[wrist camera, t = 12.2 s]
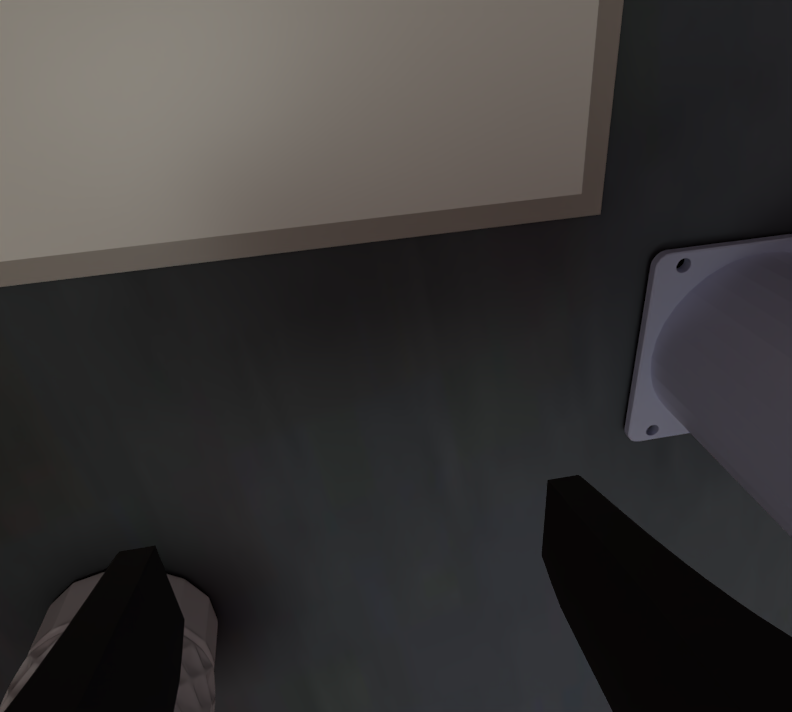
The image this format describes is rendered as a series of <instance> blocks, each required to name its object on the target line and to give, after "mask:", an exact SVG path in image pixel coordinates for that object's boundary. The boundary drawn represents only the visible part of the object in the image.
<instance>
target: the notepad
mask: <svg viewBox="0 0 792 712" xmlns="http://www.w3.org/2000/svg"><path fill="white" fill-rule="evenodd" d="M623 2H624V0H0V287H4V286H12V285H20V284H29V283H37V282H45V281H53V280H62V279H70V278H78V277H86V276H95V275H103V274H111V273H120V272H128V271H136V270H144V269H153V268H161V267H169V266H177V265H186V264H194V263H202V262H211V261H219V260H227V259H235V258H244V257H252V256H260V255H268V254H277V253H285V252H293V251H302V250H310V249H318V248H326V247H335V246H343V245H351V244H359V243H368V242H376V241H384V240H393V239H401V238H409V237H417V236H426V235H434V234H442V233H450V232H459V231H467V230H475V229H484V228H492V227H500V226H508V225H517V224H525V223H533V222H541V221H550V220H558V219H566V218H575V217H583V216H591V215H599V214H601V204H602V195H603V186H604V177H605V167H606V158H607V149H608V140H609V131H610V121H611V112H612V103H613V94H614V85H615V75H616V66H617V57H618V48H619V38H620V29H621V20H622V11H623Z"/></svg>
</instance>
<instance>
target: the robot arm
mask: <svg viewBox="0 0 792 712" xmlns="http://www.w3.org/2000/svg"><path fill="white" fill-rule="evenodd" d="M682 259H684V263H683V265H681V266H680V267H679V268H676V266H677V264H678V262H679V261H680V260H682ZM650 426H652V427H651V428H649V427H650ZM647 428H649V429H647ZM624 430H625V434H626V435H627V436H628V437H629V439H630V440H632V441H643V440H649V439H655V438H662V437H668V436H674V435H680V434H686V433H691V434H692V435H693V436H694V437H695V438H696V440H697V441H698V442H699V443H700V444H701V445H702V446H703V447H704V448H705V449H706V450H707V451H708V452H709V453H710V454H711V455H712V456H713V457H714V458H715V459H716V460H717V461H718V462H719V463H720V464H721V465H722V466H723V467H724V468H725V469H726V470H727V471H728V472H729V474H730V475H731V476H732V477H733V478H734V479H735V480H736V481H737V482H738V483H739V484H740V485H741V486H742V487H743V488H744V489H745V490H746V491H747V492H748V493H749V494H750V495H751V496H752V497H753V498H754V499H755V500H756V501H757V502H758V503H759V504H760V505H761V506H762V508H763V509H764V510H765V511H766V512H767V513H768V514H769V515H770V516H771V517H772V518H773V519H774V520H775V521H776V522H777V523H778V524H779V525H780V526H781V527H782V528H783V529H784V530H785V531H786V532H787V533H788V534H789V535H790V536H791V537H792V234H786V235H778V236H770V237H763V238H755V239H747V240H739V241H732V242H724V243H716V244H708V245H701V246H693V247H685V248H677V249H669V250H665V251H662V252H660V253H659V254H657V255H656V256H655V257H654V259H653V260H652V263H651V266H650V272H649V278H648V284H647V291H646V297H645V303H644V309H643V316H642V322H641V328H640V334H639V341H638V347H637V353H636V359H635V366H634V372H633V378H632V384H631V391H630V397H629V403H628V409H627V416H626V422H625V428H624ZM542 558H543V560H544V563H545V566H546V569H547V572H548V574H549V577H550V580H551V583H552V586H553V588H554V591H555V594H556V596H557V599H558V601H559V604H560V607H561V609H562V611H563V613H564V615H565V617H566V619H567V621H568V623H569V625H570V627H571V629H572V631H573V633H574V635H575V637H576V639H577V641H578V643H579V645H580V647H581V649H582V651H583V653H584V655H585V657H586V659H587V661H588V663H589V665H590V667H591V669H592V671H593V673H594V675H595V677H596V679H597V681H598V683H599V685H600V687H601V689H602V691H603V693H604V695H605V697H606V699H607V701H608V703H609V705H610V707H611V709H612V711H613V712H792V637H791V636H789V635H788V634H786V633H784V632H783V631H781V630H780V629H778V628H777V627H775V626H774V625H772V624H770V623H769V622H767V621H766V620H764V619H763V618H761V617H759V616H758V615H756V614H755V613H753V612H752V611H750V610H749V609H748V608H746V607H745V606H743V605H742V604H740V603H739V602H737V601H736V600H734V599H733V598H732V597H730V596H729V595H728V594H726V593H725V592H723V591H722V590H721V589H719V588H718V587H717V586H715V585H714V584H712V583H711V582H710V581H708V580H707V579H705V578H704V577H703V576H701V575H700V574H699V573H698V572H696V571H695V570H694V569H692V568H691V567H690V566H688V565H687V564H686V563H684V562H683V561H682V560H681V559H679V558H678V557H677V556H676V555H674V554H673V553H672V552H671V551H669V550H668V549H667V548H666V547H664V546H663V545H662V544H660V543H659V542H658V541H657V540H655V539H654V538H653V537H652V536H651V535H649V534H648V533H647V532H646V531H644V530H643V529H642V528H641V527H640V526H638V525H637V524H636V523H635V522H634V521H632V520H631V519H630V518H629V517H628V516H627V515H625V514H624V513H623V512H622V511H621V510H619V509H618V508H617V507H616V506H615V505H614V504H612V503H611V502H610V501H609V500H608V499H607V498H605V497H604V496H603V495H602V494H601V493H600V492H598V491H597V490H596V489H595V488H594V487H593V486H591V485H590V484H589V483H588V482H587V481H586V480H584V479H583V478H582V477H581V476H579V475H576V476H570V477H564V478H558V479H552V480H548V484H547V496H546V509H545V521H544V533H543V546H542ZM184 623H185V619H184V617H183V614H182V612H181V609H180V607H179V604H178V602H177V599H176V597H175V594H174V592H173V589H172V587H171V584H170V582H169V579H168V577H167V574H166V572H165V569H164V567H163V564H162V562H161V559H160V557H159V554H158V552H157V549H156V547H155V546H151V547H145V548H139V549H133V550H127V551H121V552H119V553H118V554H117V555H116V557H115V558H114V559H113V561H112V562H111V564H110V565H109V567H108V568H107V569H106V571H105V572H104V574H103V575H102V577H101V578H100V580H99V581H98V583H97V584H96V586H95V587H94V588H93V590H92V591H91V593H90V594H89V596H88V597H87V599H86V600H85V602H84V603H83V605H82V606H81V607H80V609H79V610H78V612H77V613H76V615H75V616H74V617H73V619H72V620H71V622H70V623H69V625H68V626H67V628H66V629H65V630H64V632H63V633H62V634H61V636H60V637H59V639H58V640H57V641H56V643H55V644H54V646H53V647H52V648H51V650H50V651H49V652H48V654H47V655H46V657H45V658H44V659H43V661H42V662H41V663H40V665H39V666H38V668H37V669H36V670H35V672H34V673H33V674H32V676H31V677H30V678H29V680H28V681H27V682H26V684H25V685H24V686H23V688H22V689H21V690H20V692H19V693H18V694H17V695H16V697H15V698H14V699H13V701H12V702H11V703H10V704H9V706H8V707H7V708H6V709H5V711H4V712H174V708H175V703H176V698H177V692H178V687H179V681H180V673H181V662H182V651H183V637H184Z"/></svg>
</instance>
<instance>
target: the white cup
mask: <svg viewBox="0 0 792 712" xmlns="http://www.w3.org/2000/svg"><path fill="white" fill-rule="evenodd" d="M103 574H104V572H102V573H99V574H96V575H94V576H91V577H88V578H85V579H83V580H80V581H77V582H74V583H73V584H72V585H71V586H69V587H68V588H67V589H66V590H65V591H64V592H63V593H62V594H61V595H60V596H59V597H58V598H57V599H56V600H55V601H54V602H53V603H52V604H51V605H50V607H49V609H48V611H47V613H46V615H45V618H44V620H43V622H42V624H41V626H40V629H39V631H38V633H37V635H36V637H35V639H34V642H33V644H32V646H31V648H30V651H29V653H28V656H27V658H26V659H25V661H24V662H23V664H22V665H21V667H20V668H19V670H18V672H17V673H16V675H15V677H14V678H13V680H12V682H11V684H10V685H9V688H8V690H7V692H6V694H5V696H4V699H3V701H2V703H1V706H0V712H4V711H5V709H6V708H7V707H8V706H9V704H10V703H11V702H12V701H13V699H14V698H15V697H16V695H17V694H18V693H19V692H20V690H21V689H22V688H23V686H24V685H25V684H26V682H27V681H28V680H29V678H30V677H31V676H32V674H33V673H34V672H35V670H36V669H37V668H38V666H39V665H40V663H41V662H42V661H43V659H44V658H45V657H46V655H47V654H48V652H49V651H50V650H51V648H52V647H53V646H54V644H55V643H56V641H57V640H58V639H59V637H60V636H61V634H62V633H63V632H64V630H65V629H66V628H67V626H68V625H69V623H70V622H71V620H72V619H73V617H74V616H75V615H76V613H77V612H78V610H79V609H80V607H81V606H82V605H83V603H84V602H85V600H86V599H87V597H88V596H89V594H90V593H91V591H92V590H93V588H94V587H95V586H96V584H97V583H98V581H99V580H100V578H101V577H102V575H103ZM167 577H168V579H169V582H170V584H171V587H172V589H173V592H174V594H175V597H176V599H177V602H178V604H179V607H180V609H181V612H182V614H183V617H184V619H185V623H184V637H183V651H182V662H181V673H180V681H179V687H178V692H177V698H176V703H175V708H174V712H214V710H215V678H214V666H215V654H216V641H217V628H218V620H217V617H216V614H215V612H214V609H213V607H212V604H211V602H210V599H209V597H208V596H207V595H205V594H204V593H203V592H201V591H200V590H199V589H197V588H196V587H195V586H193V585H192V584H191V583H189V582H188V581H187V580H185V579H183V578H180V577H176V576H173V575H169V574H167Z"/></svg>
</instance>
